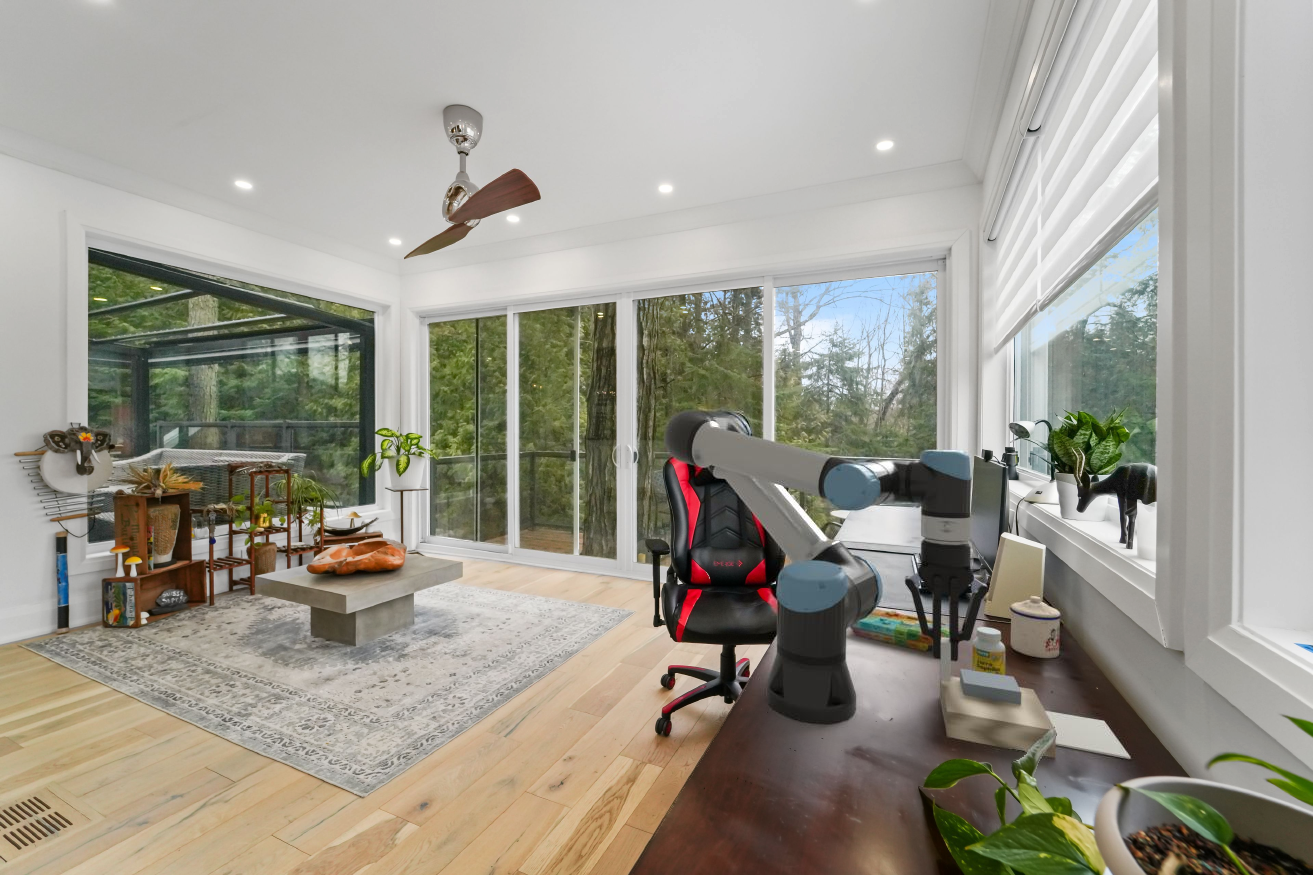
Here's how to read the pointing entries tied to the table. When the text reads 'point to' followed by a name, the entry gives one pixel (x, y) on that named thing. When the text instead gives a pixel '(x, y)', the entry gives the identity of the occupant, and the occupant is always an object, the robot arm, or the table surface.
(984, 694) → the slate tile
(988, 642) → the supplement bottle
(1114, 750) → the white mat
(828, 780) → the table surface
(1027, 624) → the teacup with lid
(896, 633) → the puzzle game
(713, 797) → the table surface
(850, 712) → the robot arm
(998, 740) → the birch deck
